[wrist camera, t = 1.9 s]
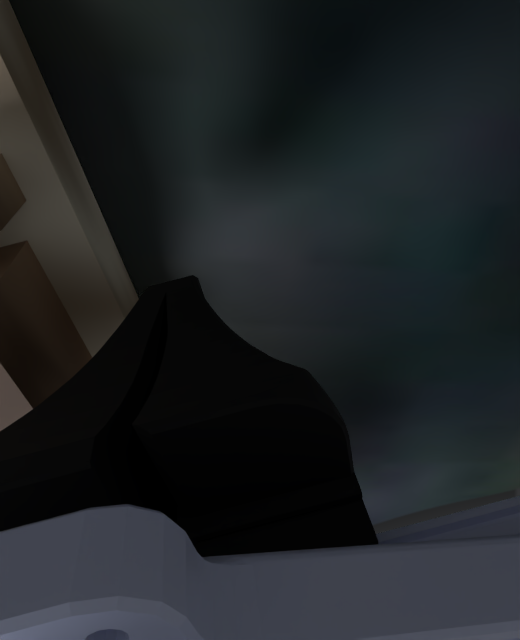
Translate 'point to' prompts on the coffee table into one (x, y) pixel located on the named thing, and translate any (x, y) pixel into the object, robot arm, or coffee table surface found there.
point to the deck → (54, 197)
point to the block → (32, 335)
